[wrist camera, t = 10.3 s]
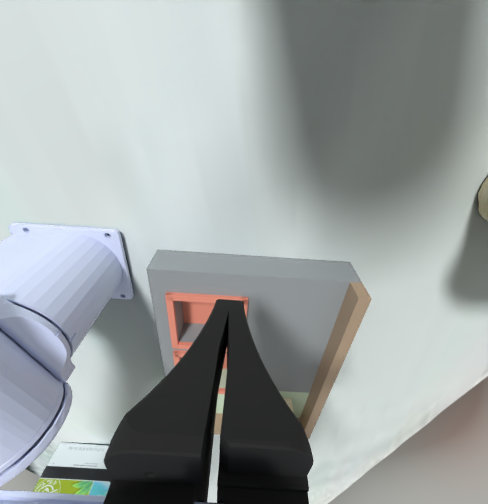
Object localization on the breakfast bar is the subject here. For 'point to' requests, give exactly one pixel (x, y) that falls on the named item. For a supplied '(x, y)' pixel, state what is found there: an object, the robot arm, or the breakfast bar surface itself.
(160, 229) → the breakfast bar surface
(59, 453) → the tea box
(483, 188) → the flower pot
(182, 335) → the box
